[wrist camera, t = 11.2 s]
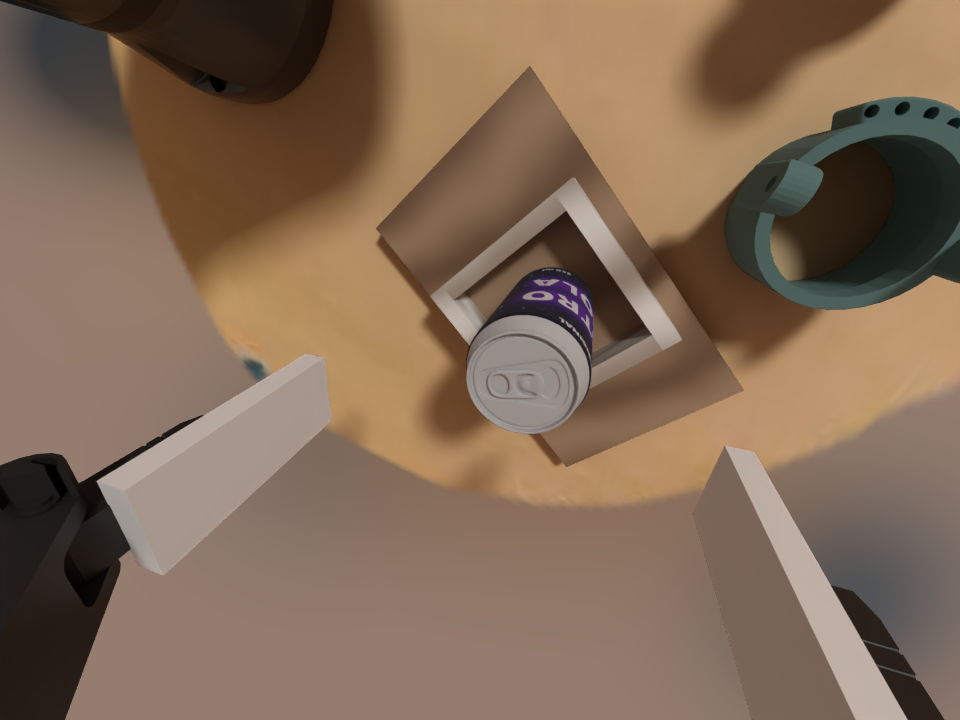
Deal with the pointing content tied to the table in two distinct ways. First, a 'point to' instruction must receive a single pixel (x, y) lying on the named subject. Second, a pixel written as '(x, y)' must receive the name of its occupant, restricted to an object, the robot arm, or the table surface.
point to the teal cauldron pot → (909, 228)
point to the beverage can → (534, 353)
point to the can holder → (557, 266)
